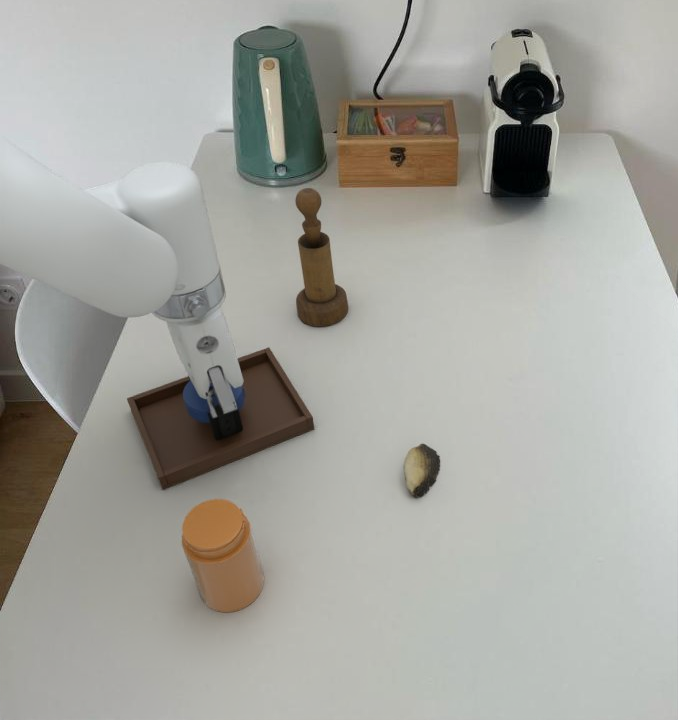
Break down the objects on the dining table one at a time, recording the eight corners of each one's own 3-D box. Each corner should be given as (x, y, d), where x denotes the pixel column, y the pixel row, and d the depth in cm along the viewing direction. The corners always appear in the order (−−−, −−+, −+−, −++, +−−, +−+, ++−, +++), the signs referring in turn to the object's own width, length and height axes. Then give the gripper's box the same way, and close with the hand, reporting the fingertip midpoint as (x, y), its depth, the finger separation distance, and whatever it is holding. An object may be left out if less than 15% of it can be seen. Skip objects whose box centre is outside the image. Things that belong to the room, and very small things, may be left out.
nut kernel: (414, 502, 82) (419, 479, 81) (381, 476, 85) (385, 454, 83) (455, 476, 87) (460, 455, 85) (422, 453, 89) (426, 431, 88)
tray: (162, 490, 85) (158, 478, 84) (131, 410, 94) (126, 398, 93) (314, 429, 91) (312, 416, 89) (271, 359, 100) (269, 346, 98)
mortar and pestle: (329, 289, 109) (314, 170, 97) (358, 311, 106) (346, 191, 93) (288, 310, 106) (267, 190, 94) (316, 334, 103) (299, 212, 90)
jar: (211, 623, 74) (189, 563, 67) (192, 573, 78) (168, 512, 71) (273, 594, 76) (257, 534, 69) (251, 547, 79) (233, 485, 73)
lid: (243, 378, 93) (240, 366, 92) (247, 417, 88) (245, 404, 87) (185, 387, 92) (182, 375, 91) (187, 427, 87) (183, 415, 86)
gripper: (251, 324, 75) (277, 452, 87) (195, 233, 86) (225, 358, 98) (172, 351, 72) (210, 479, 85) (125, 254, 84) (165, 379, 96)
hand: (218, 413), depth 91 cm, fingers closed on lid, 6 cm apart
